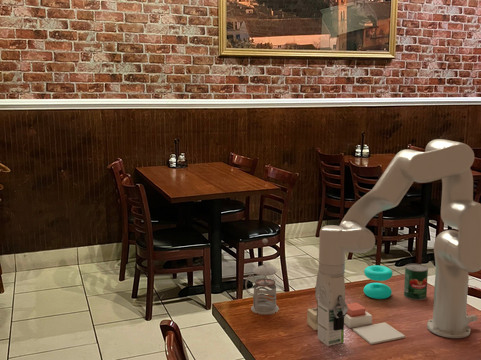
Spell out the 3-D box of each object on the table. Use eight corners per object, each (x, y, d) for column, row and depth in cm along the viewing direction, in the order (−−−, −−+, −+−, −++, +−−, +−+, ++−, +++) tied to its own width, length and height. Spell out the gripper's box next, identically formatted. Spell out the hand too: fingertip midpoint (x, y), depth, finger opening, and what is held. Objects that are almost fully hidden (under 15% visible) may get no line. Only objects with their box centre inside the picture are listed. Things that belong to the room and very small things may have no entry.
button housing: (357, 314, 176) (358, 305, 175) (371, 324, 168) (372, 315, 168) (337, 318, 173) (337, 309, 172) (350, 328, 165) (350, 319, 165)
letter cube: (320, 321, 171) (321, 306, 170) (328, 327, 166) (328, 312, 165) (307, 323, 169) (307, 308, 168) (314, 330, 164) (314, 314, 164)
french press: (281, 314, 176) (281, 242, 172) (246, 315, 176) (246, 243, 171) (277, 302, 186) (277, 234, 182) (244, 303, 185) (244, 235, 181)
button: (356, 311, 173) (356, 302, 173) (365, 317, 169) (365, 308, 168) (343, 313, 172) (343, 304, 171) (351, 319, 167) (352, 310, 166)
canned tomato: (414, 290, 196) (415, 262, 194) (431, 297, 189) (432, 268, 187) (399, 294, 192) (400, 265, 190) (416, 302, 185) (417, 272, 183)
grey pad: (385, 324, 168) (385, 322, 168) (404, 337, 159) (404, 335, 159) (352, 330, 164) (352, 328, 164) (371, 344, 155) (371, 342, 155)
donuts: (369, 262, 197) (396, 267, 192) (368, 287, 199) (394, 292, 194) (360, 270, 189) (388, 275, 184) (359, 296, 190) (386, 302, 185)
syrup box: (327, 347, 154) (328, 300, 151) (316, 338, 159) (317, 293, 156) (343, 343, 156) (345, 297, 153) (332, 334, 161) (333, 290, 159)
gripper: (306, 260, 160) (305, 313, 163) (335, 279, 144) (333, 337, 147) (328, 257, 163) (326, 309, 166) (359, 276, 147) (356, 333, 150)
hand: (330, 322), depth 156 cm, fingers open, 9 cm apart
